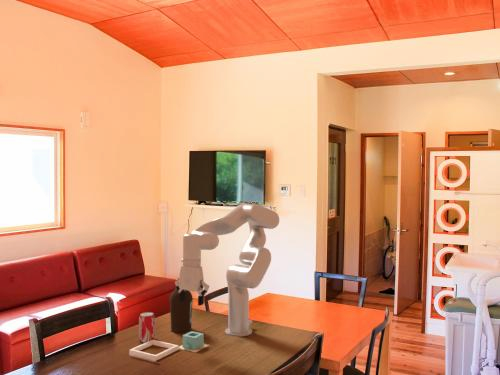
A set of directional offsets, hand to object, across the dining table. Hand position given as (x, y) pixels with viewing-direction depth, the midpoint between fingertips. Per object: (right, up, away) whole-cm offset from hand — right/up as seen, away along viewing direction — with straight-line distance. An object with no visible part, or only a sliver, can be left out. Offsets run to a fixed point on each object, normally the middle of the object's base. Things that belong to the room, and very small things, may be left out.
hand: (191, 303), depth 202 cm
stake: (+1, -19, 0) cm, 19 cm away
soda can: (-21, -19, +9) cm, 30 cm away
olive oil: (-7, -19, +22) cm, 30 cm away
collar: (+1, -18, 0) cm, 18 cm away
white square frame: (-14, -19, -6) cm, 25 cm away
